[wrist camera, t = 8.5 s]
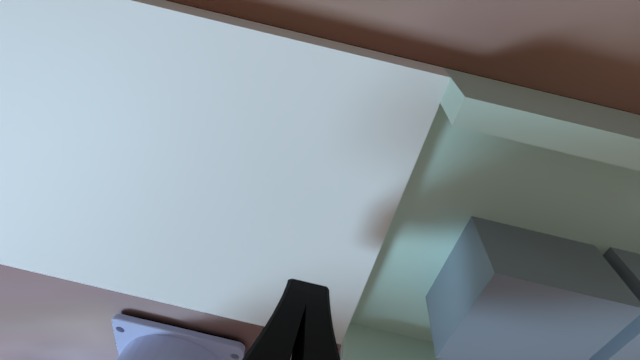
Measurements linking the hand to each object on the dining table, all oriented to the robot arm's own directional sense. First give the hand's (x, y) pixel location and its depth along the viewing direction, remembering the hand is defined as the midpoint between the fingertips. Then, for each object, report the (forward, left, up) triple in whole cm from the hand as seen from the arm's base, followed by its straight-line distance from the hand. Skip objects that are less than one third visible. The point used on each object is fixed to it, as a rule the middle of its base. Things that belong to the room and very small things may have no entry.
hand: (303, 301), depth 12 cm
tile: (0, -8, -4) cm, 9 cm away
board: (+1, +6, -4) cm, 8 cm away
